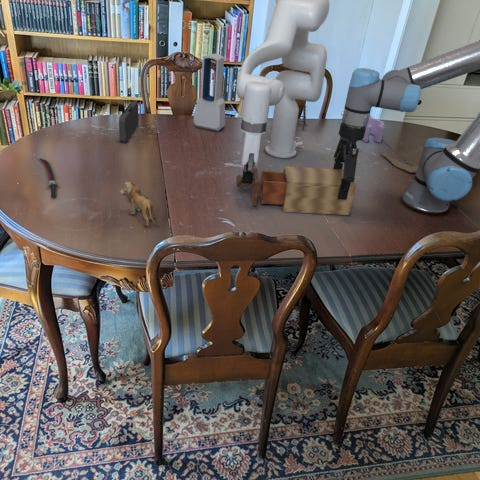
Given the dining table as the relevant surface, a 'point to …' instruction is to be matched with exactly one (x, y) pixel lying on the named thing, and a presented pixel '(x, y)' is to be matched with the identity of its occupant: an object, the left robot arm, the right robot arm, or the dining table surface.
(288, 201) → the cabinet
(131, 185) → the lion figurine
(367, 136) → the clip
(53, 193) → the sword
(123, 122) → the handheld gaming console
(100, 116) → the dining table surface
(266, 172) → the drawer
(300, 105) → the miniature windmill
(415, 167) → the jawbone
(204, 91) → the electronic device
